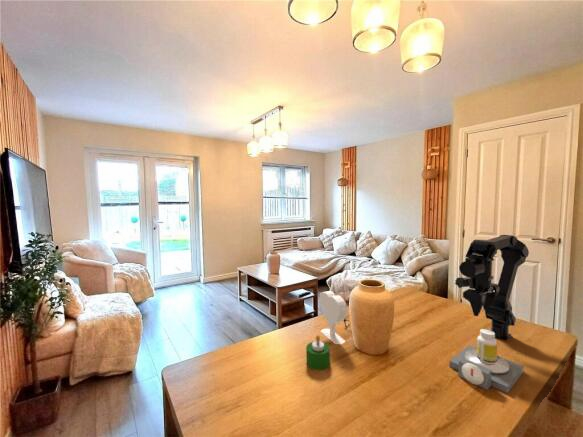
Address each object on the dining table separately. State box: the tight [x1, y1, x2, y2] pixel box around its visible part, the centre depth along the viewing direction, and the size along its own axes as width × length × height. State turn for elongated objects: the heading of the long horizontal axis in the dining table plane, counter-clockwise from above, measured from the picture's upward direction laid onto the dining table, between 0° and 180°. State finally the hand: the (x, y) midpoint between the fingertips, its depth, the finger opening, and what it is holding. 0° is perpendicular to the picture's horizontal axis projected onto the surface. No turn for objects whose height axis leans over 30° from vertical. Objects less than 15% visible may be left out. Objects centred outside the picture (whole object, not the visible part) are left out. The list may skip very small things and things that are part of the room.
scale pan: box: [465, 350, 509, 374], centre depth 90 cm, size 12×12×1 cm
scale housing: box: [449, 344, 525, 394], centre depth 89 cm, size 20×16×6 cm
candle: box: [305, 335, 331, 371], centre depth 95 cm, size 8×8×10 cm
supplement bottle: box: [476, 328, 498, 364], centre depth 89 cm, size 5×5×10 cm
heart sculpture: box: [319, 290, 348, 345], centre depth 113 cm, size 16×5×18 cm, turn 24°
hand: (480, 312), depth 103 cm, fingers open, 9 cm apart
